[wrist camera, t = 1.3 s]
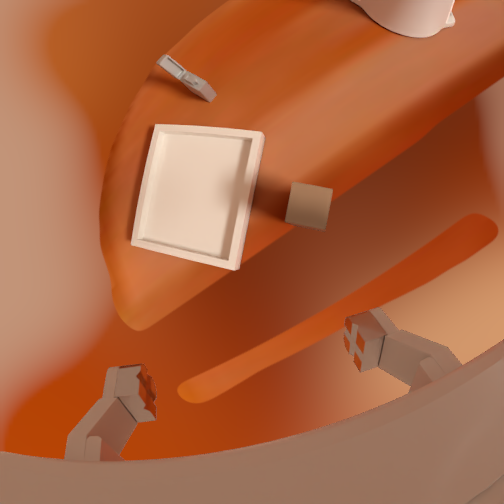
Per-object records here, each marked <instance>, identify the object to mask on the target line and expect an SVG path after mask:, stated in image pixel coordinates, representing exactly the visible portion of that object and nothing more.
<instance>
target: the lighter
mask: <svg viewBox="0 0 504 504" xmlns="http://www.w3.org/2000/svg"><path fill="white" fill-rule="evenodd" d="M157 65H159V66H160V67H161V68H163V69H164V70H165V71H167V72H168V73H169V74H170V75H172V76H173V77H174V78H176V79H180V81H181V82H182V83H183V84H184V85H185V86H186V87H187V88H188V89H189V90H190V91H191V92H193V93H194V94H196V95H198V96H199V97H201V98H203V99H204V100H206V101H208V102H211V101H212V100H213V99H214V97H215V96H216V95H217V94H216V92H215V91H214V90H213V89H212V88H211V86H210V85H209V84H208V83H207V82H206V81H205V80H203V79H201V78H199V77H198V76H196V75H194V74H192V73H190V72H188V71H186V70H185V69H184V68H183V67H182V66H181V65H179V64H178V63H177V62H176V61H174V60H173V59H172V58H171V57H169V56H168V55H163V56H162V57H161V58H160V59H159V60H158V61H157Z"/></svg>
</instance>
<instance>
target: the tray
mask: <svg viewBox="0 0 504 504" xmlns="http://www.w3.org/2000/svg"><path fill="white" fill-rule="evenodd" d="M264 142H265V136H264V135H263V133H262V132H258V131H249V130H240V129H230V128H218V127H205V126H189V125H167V124H155V128H154V132H153V136H152V140H151V144H150V148H149V152H148V157H147V161H146V165H145V170H144V175H143V179H142V184H141V189H140V194H139V199H138V205H137V210H136V216H135V222H134V228H133V234H132V240H131V245H133V246H137V247H141V248H145V249H149V250H152V251H156V252H160V253H164V254H168V255H173V256H177V257H181V258H185V259H189V260H193V261H197V262H201V263H205V264H209V265H214V266H218V267H222V268H226V269H230V270H237V269H239V268H240V263H241V258H242V253H243V247H244V242H245V237H246V232H247V227H248V222H249V217H250V212H251V207H252V202H253V196H254V191H255V186H256V181H257V176H258V171H259V166H260V161H261V156H262V151H263V147H264Z"/></svg>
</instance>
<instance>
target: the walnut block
mask: <svg viewBox="0 0 504 504" xmlns="http://www.w3.org/2000/svg"><path fill="white" fill-rule="evenodd" d="M332 192H333V189H329V188H324V187H319V186H314V185H308V184H303V183H298V182H292V187H291V192H290V197H289V202H288V207H287V213H286V218H285V222H287V223H289V224H292V225H294V226H299V227H304V228H309V229H314V230H318V231H323V232H324V231H325V229H326V224H327V219H328V214H329V208H330V203H331V197H332Z"/></svg>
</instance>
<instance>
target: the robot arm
mask: <svg viewBox="0 0 504 504" xmlns="http://www.w3.org/2000/svg"><path fill="white" fill-rule="evenodd" d="M350 1H352V2H354V3H355V4H357V5H359V6H360V7H362V8H363V9H364V11H365V12H366V13H367V14H368V15H369V16H370V17H371V18H372V19H373V20H374V21H376V22H377V23H378V24H380V25H381V26H383V27H385V28H387V29H389V30H391V31H393V32H396V33H398V34H401V35H405V36H410V37H429V36H432V35H434V34H436V33H437V32H439V31H440V30H441V29H442V28H445V27H451V26H453V25H454V23H455V18H454V16H453V14H452V11H451V10H452V7H453V4H454V1H455V0H350ZM344 325H345V327H346V328H347V329H346V331H345V332H344V343H345V347H346V349H347V351H348V353H349V354H351V355H353V356H354V363H355V365H356V366H357V368H358V370H359V372H363V371H366V370H369V369H372V368H375V367H378V366H379V368H380V369H382V370H384V371H386V372H387V373H389V374H390V375H392V376H394V377H396V378H397V379H399V380H401V381H402V382H404V383H406V384H408V385H409V386H411V388H410V390H409V393H408V394H406V395H404V396H402V397H399V398H397V399H395V400H393V401H390V402H388V403H386V404H383V405H381V406H378V407H376V408H374V409H371V410H369V411H366V412H363V413H361V414H358V415H355V416H353V417H350V418H347V419H344V420H342V421H339V422H336V423H333V424H330V425H327V426H324V427H321V428H317V429H314V430H311V431H307V432H304V433H301V434H297V435H293V436H290V437H286V438H282V439H278V440H274V441H270V442H266V443H262V444H257V445H252V446H248V447H243V448H238V449H232V450H227V451H221V452H215V453H208V454H202V455H195V456H186V457H177V458H166V459H154V460H136V461H125V460H124V459H123V458H122V457H120V456H119V454H120V452H121V451H122V449H123V447H124V446H125V444H126V442H127V440H128V439H129V437H130V435H131V434H132V432H133V430H134V429H135V427H136V425H137V422H146V421H153V420H156V405H155V404H154V401H155V399H156V398H157V396H156V395H157V392H156V386H155V383H154V380H153V379H152V377H151V376H149V375H148V374H147V368H146V366H145V365H144V364H135V365H126V366H119V367H110V368H109V369H108V370H107V374H106V380H105V385H104V391H103V397H102V399H99V400H98V401H97V402H96V403H95V404H94V406H93V407H92V408H91V409H90V410H89V411H88V413H87V414H86V415H85V416H84V417H83V418H82V420H81V421H80V422H79V423H78V424H77V426H76V427H75V428H74V429H73V430H72V431H71V433H70V434H69V435H68V439H67V440H68V441H67V445H66V452H65V458H64V460H63V459H52V458H42V457H34V456H26V455H19V454H14V453H8V452H0V504H504V339H503V340H502V341H500V342H499V343H498V344H496V345H495V346H493V347H491V348H490V349H488V350H487V351H485V352H484V353H482V354H480V355H479V356H477V357H476V358H474V359H473V360H471V361H469V362H467V363H466V364H464V365H462V364H461V363H460V361H459V360H458V359H457V358H456V357H455V355H454V354H452V352H451V351H450V349H449V348H448V347H446V346H443V345H441V344H438V343H436V342H433V341H430V340H428V339H425V338H422V337H420V336H417V335H415V334H412V333H410V332H407V331H404V330H398V329H397V327H396V326H395V325H394V324H393V322H392V321H391V320H390V319H389V318H388V316H387V315H386V314H385V313H384V312H383V310H382V309H381V308H379V307H377V308H374V309H371V310H368V311H365V312H362V313H359V314H356V315H352V316H349V317H346V319H345V324H344Z"/></svg>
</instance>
